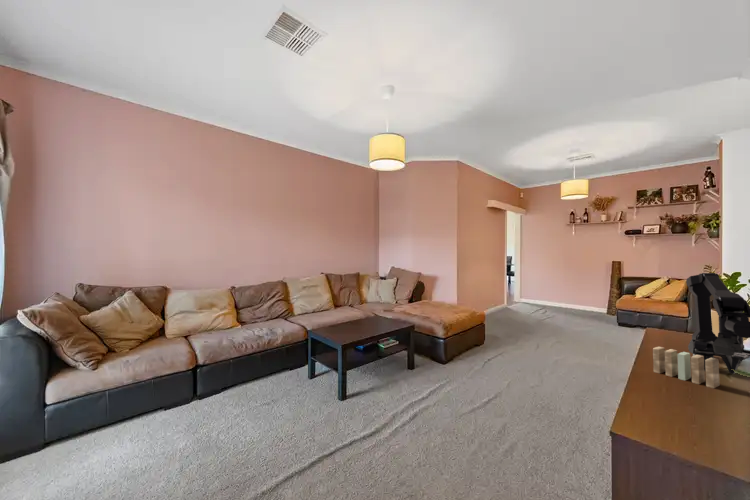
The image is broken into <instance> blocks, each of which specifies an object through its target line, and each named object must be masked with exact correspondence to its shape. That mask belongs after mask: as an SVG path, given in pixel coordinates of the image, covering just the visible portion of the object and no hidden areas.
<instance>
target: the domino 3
mask: <svg viewBox="0 0 750 500" xmlns="http://www.w3.org/2000/svg"><path fill="white" fill-rule="evenodd" d="M677 362H678V375H677V377H678V378H677V379H678V380H681V381H687V380H690V379H692V371H691V352H686V351H682V352H679V353H678V352H677Z"/></svg>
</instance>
